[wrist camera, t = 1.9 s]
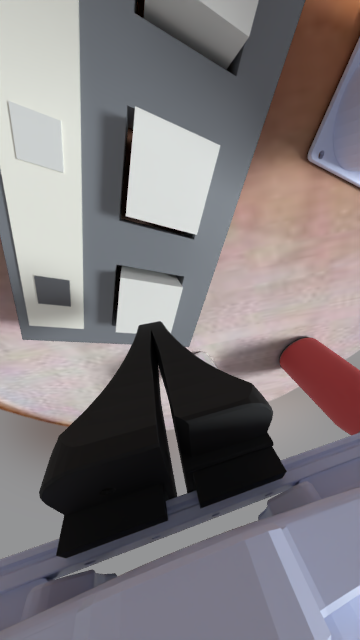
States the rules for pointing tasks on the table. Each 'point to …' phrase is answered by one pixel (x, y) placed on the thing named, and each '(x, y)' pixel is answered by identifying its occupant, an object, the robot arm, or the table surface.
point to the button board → (115, 153)
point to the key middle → (168, 173)
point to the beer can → (325, 381)
